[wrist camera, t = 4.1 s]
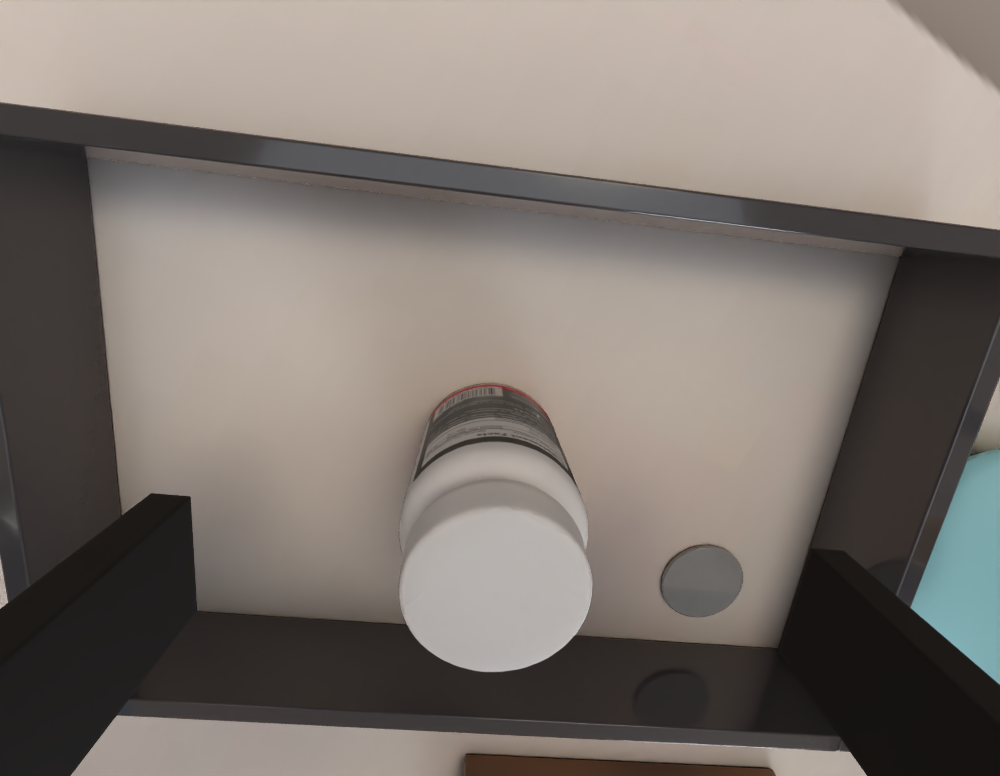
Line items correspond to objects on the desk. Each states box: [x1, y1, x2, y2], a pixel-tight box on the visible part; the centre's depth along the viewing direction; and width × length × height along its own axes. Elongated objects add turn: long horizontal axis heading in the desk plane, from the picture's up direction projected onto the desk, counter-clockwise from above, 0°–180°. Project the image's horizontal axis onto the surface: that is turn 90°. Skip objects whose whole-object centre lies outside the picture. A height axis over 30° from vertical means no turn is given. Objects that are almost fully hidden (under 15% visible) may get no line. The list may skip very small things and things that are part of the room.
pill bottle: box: [399, 383, 592, 672], centre depth 14 cm, size 5×5×8 cm
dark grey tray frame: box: [0, 102, 1000, 752], centre depth 17 cm, size 27×17×4 cm, turn 84°
